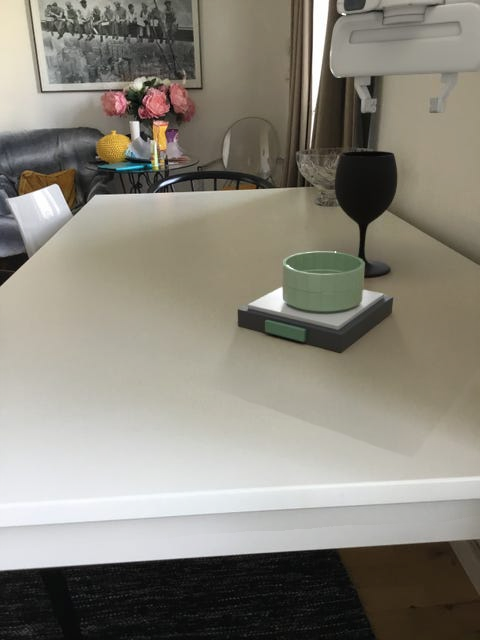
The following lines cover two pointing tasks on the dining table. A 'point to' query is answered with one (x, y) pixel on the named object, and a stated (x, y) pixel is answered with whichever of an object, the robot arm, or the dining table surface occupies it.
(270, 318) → the scale
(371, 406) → the dining table surface
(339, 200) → the wine glass
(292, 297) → the bowl
